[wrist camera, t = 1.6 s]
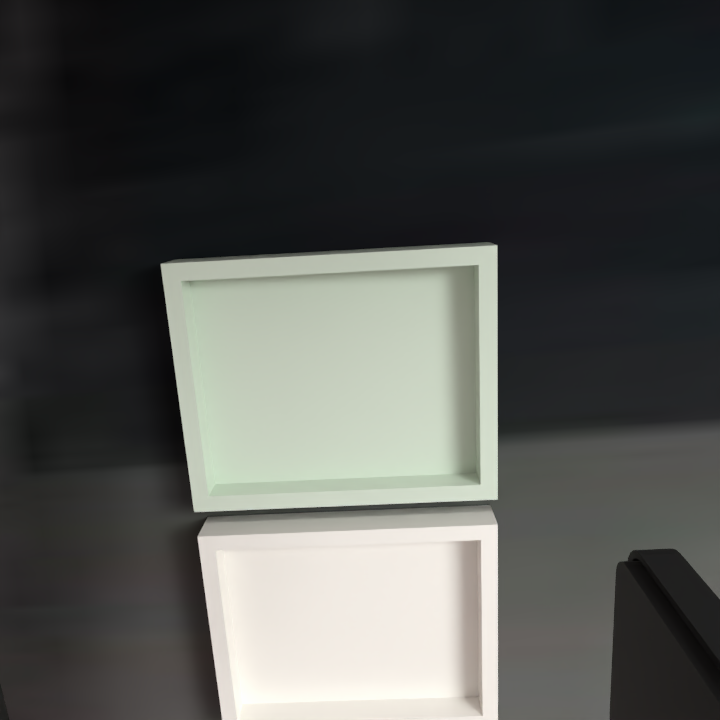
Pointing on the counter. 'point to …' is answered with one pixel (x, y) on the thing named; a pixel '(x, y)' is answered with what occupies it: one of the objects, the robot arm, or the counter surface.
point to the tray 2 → (354, 614)
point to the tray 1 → (337, 376)
